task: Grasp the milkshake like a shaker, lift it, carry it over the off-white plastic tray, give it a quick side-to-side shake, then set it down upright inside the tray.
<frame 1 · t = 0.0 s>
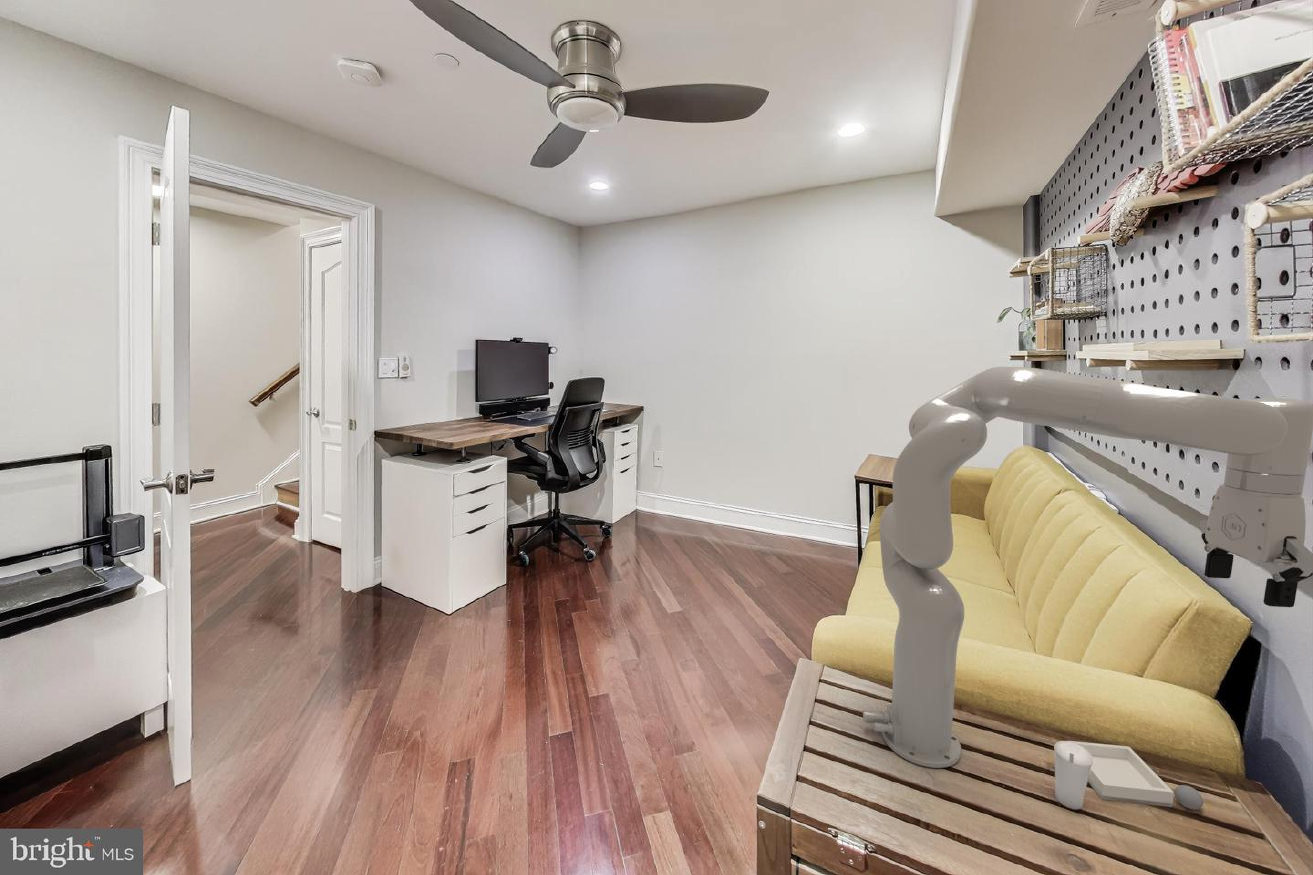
hand: (1245, 590, 77), 31 cm above the table, fingers open, 9 cm apart
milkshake: (1067, 803, 77), on the table
ball: (1187, 805, 76), on the table
tray: (1115, 778, 81), on the table
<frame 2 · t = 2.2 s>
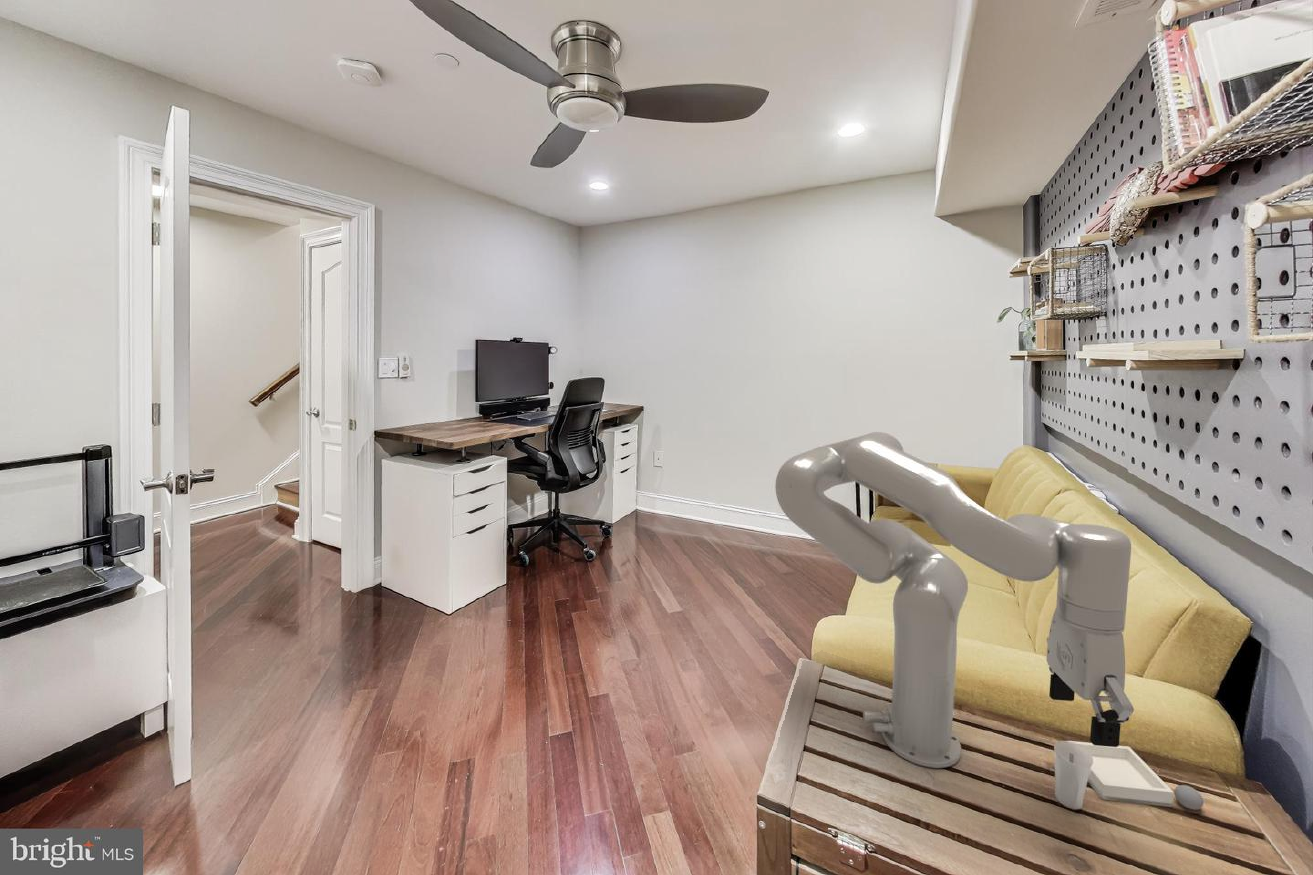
hand: (1081, 720, 75), 14 cm above the table, fingers open, 9 cm apart
nothing on the table moved.
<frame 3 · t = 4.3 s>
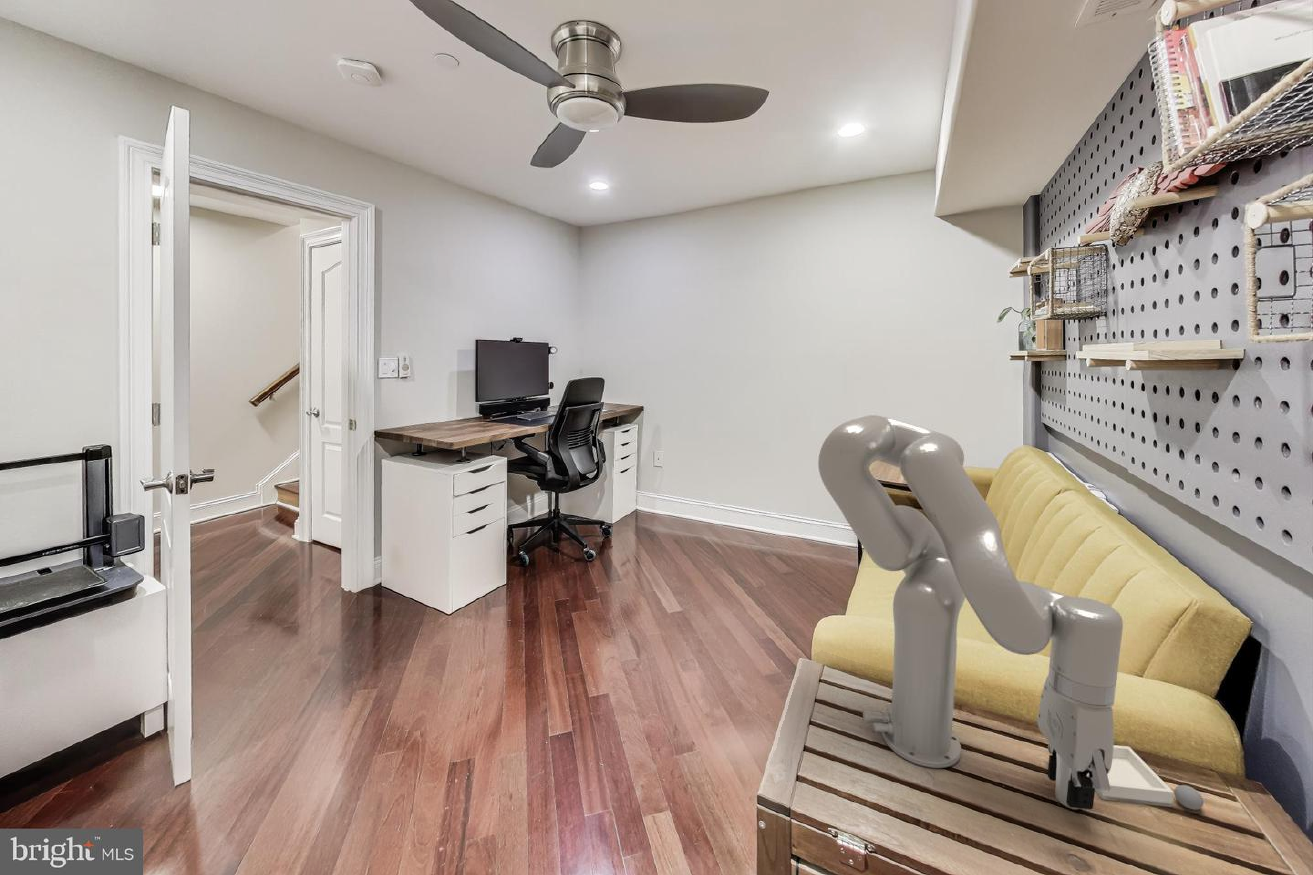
hand: (1069, 791, 77), 2 cm above the table, fingers closed on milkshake, 4 cm apart
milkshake: (1067, 802, 77), on the table, touching gripper
everything else where it was.
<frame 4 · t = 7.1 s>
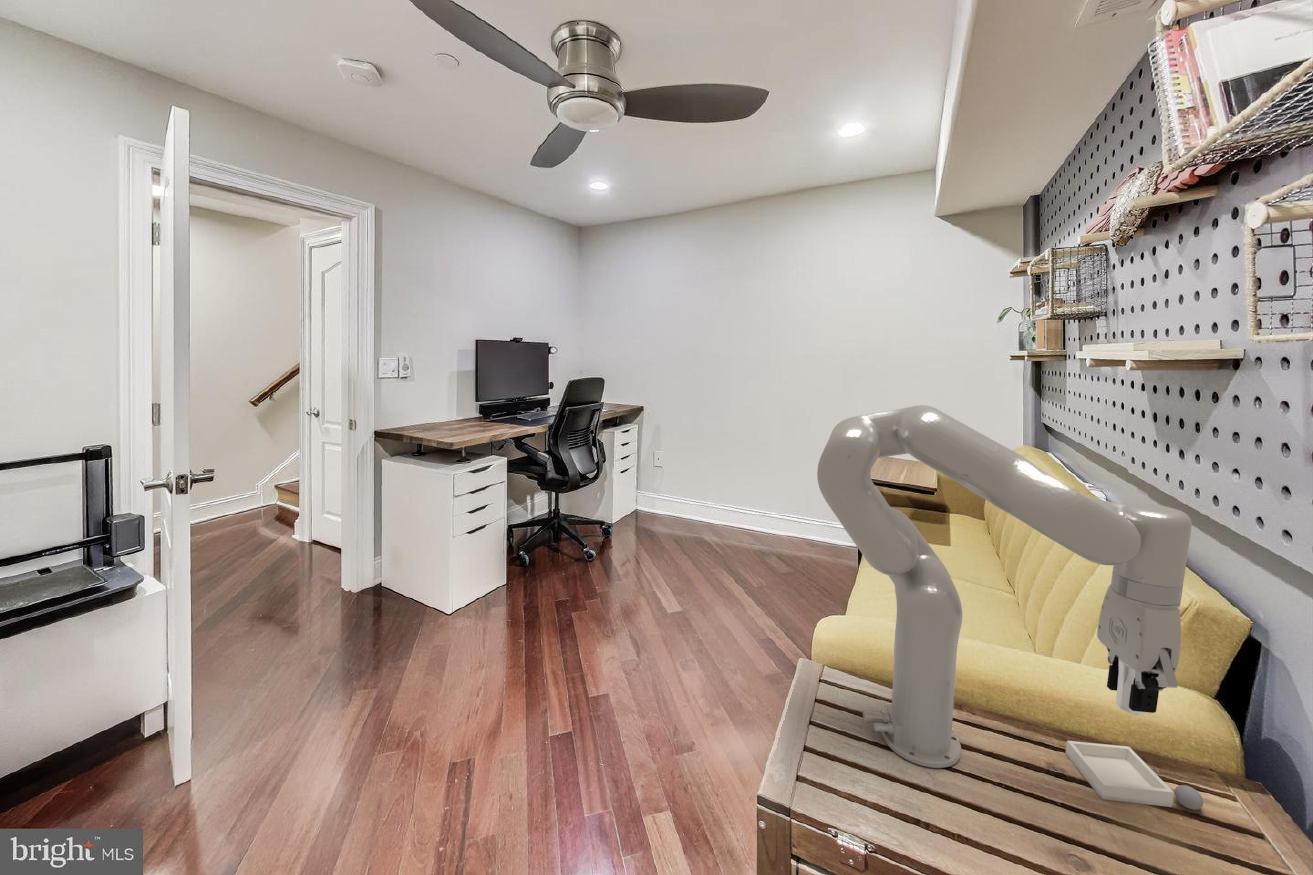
hand: (1130, 698, 77), 15 cm above the table, fingers closed on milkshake, 4 cm apart
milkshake: (1129, 710, 78), point 13 cm above the table, touching gripper
everything else where it was.
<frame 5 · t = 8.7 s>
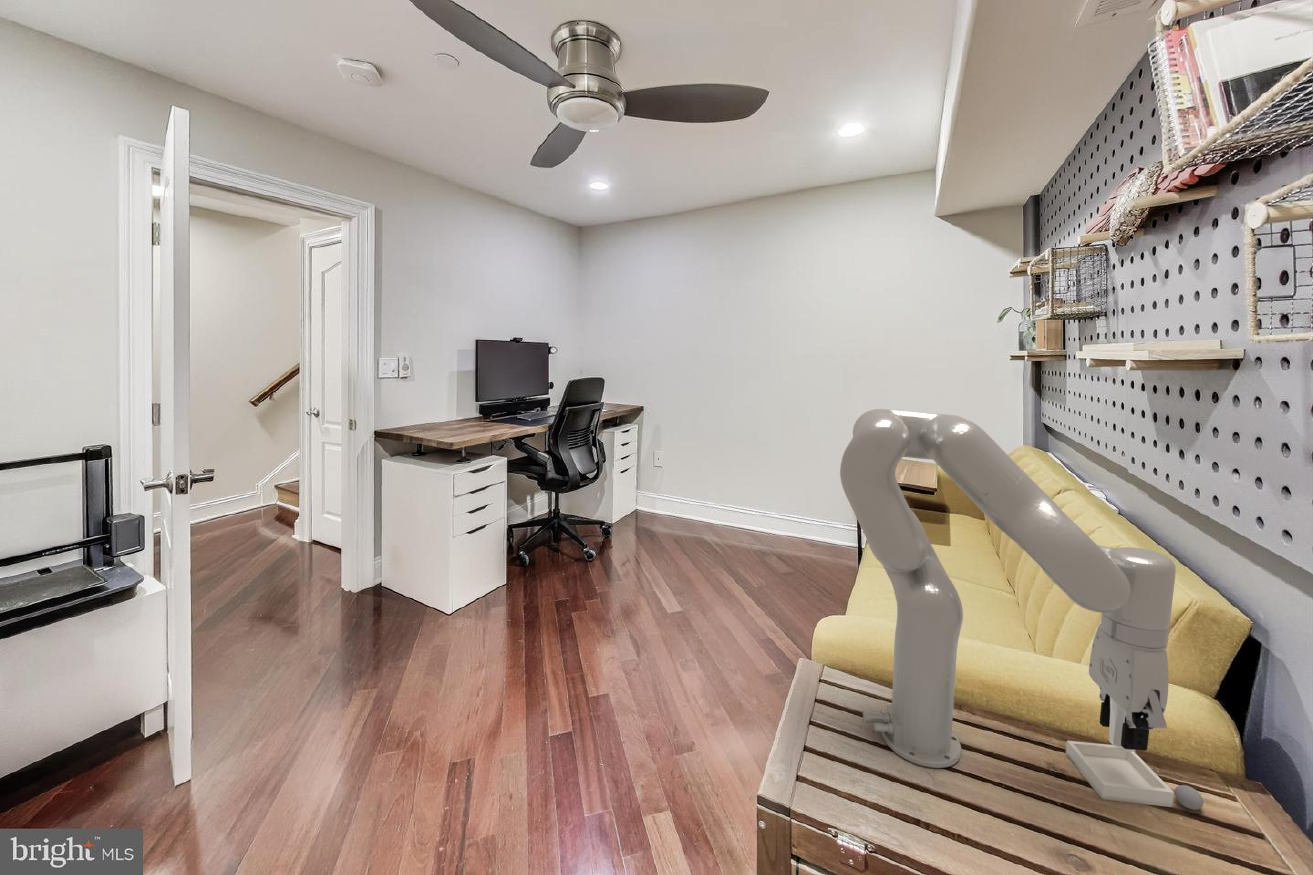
hand: (1122, 735, 80), 8 cm above the table, fingers closed on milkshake, 4 cm apart
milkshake: (1121, 746, 80), point 6 cm above the table, touching gripper
everything else where it was.
when the fingers open (4 cm above the table, at t = 10.1 s): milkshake drops 2 cm, resting on tray.
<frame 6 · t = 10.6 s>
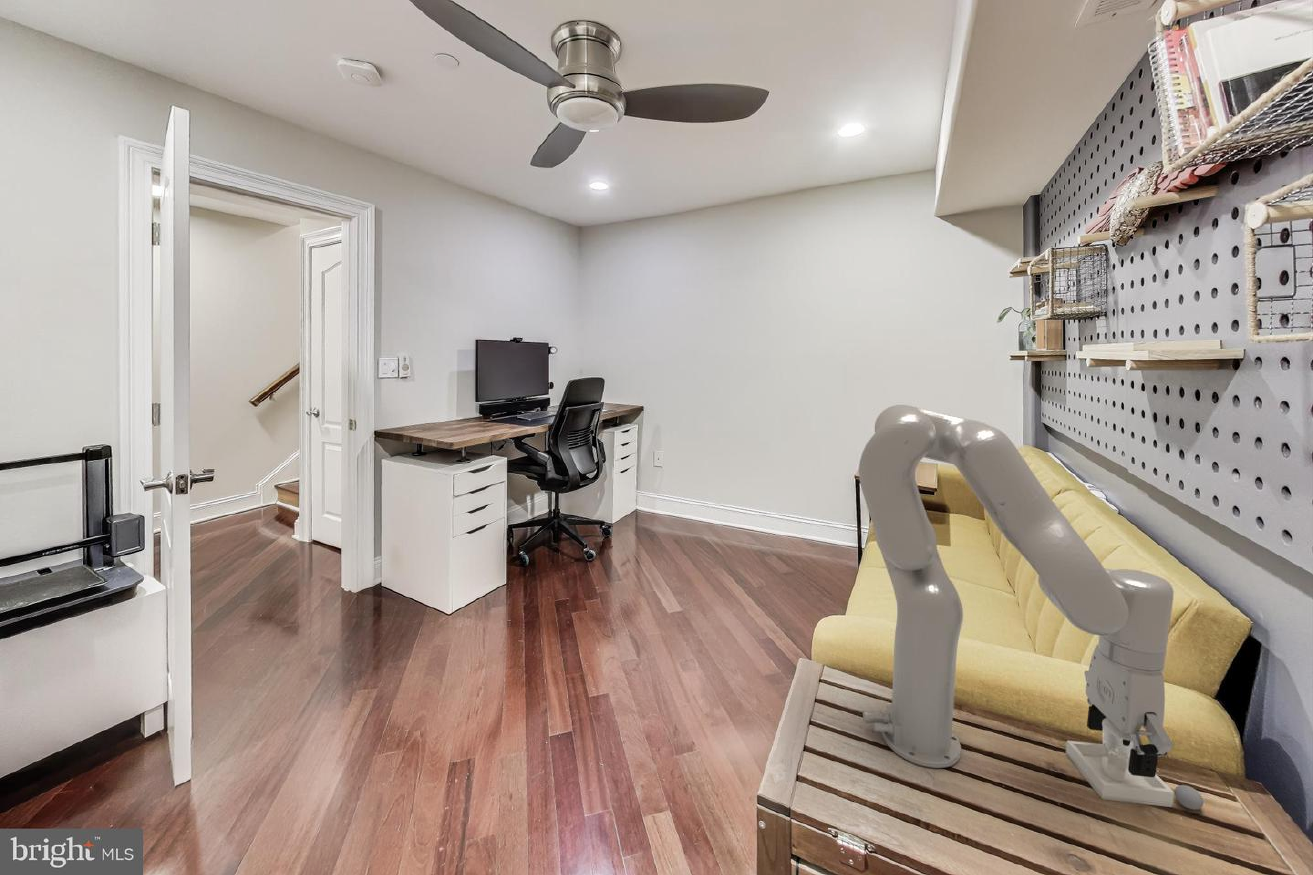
hand: (1118, 750, 80), 5 cm above the table, fingers open, 9 cm apart
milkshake: (1115, 776, 81), resting on tray
everything else where it was.
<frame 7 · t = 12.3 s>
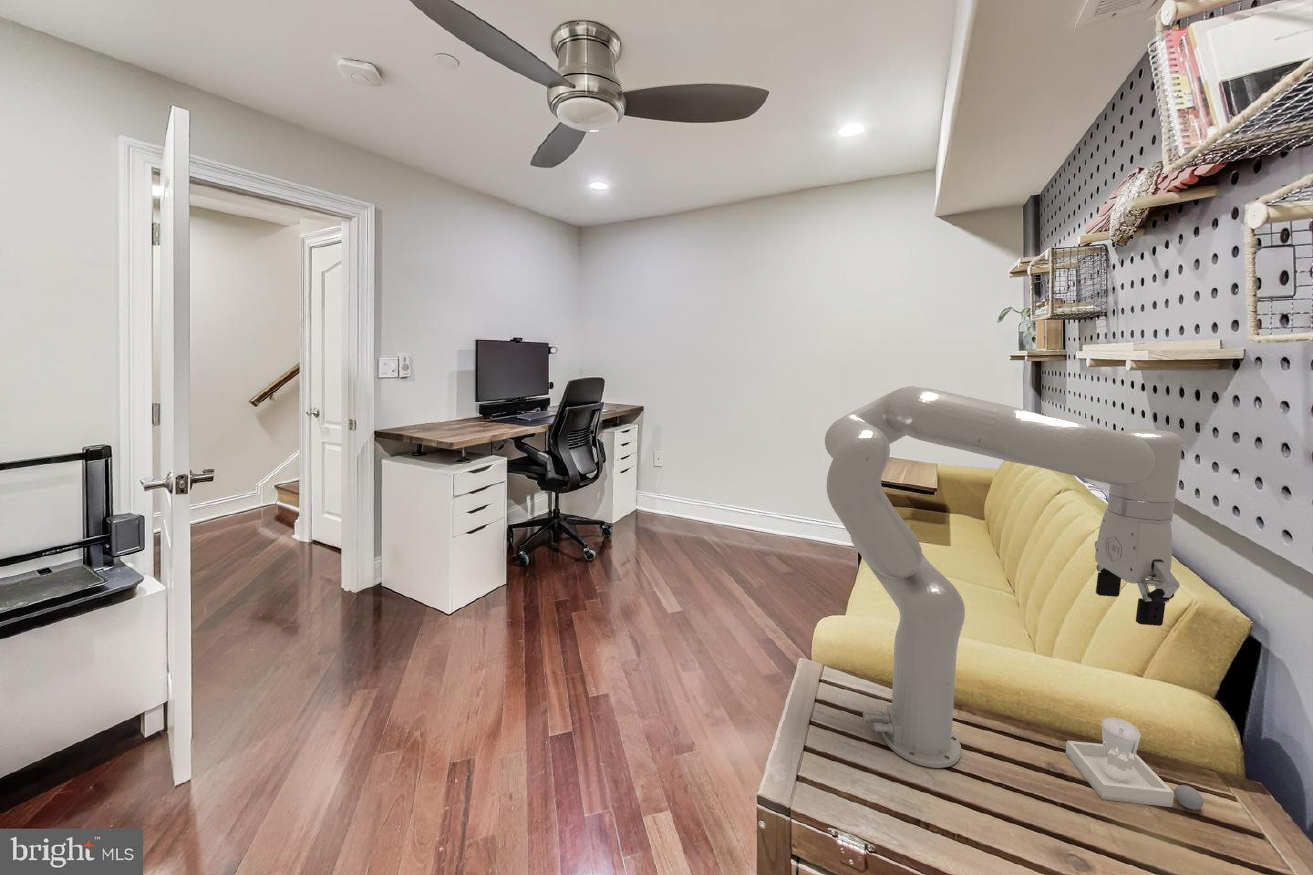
hand: (1126, 608, 82), 26 cm above the table, fingers open, 9 cm apart
nothing on the table moved.
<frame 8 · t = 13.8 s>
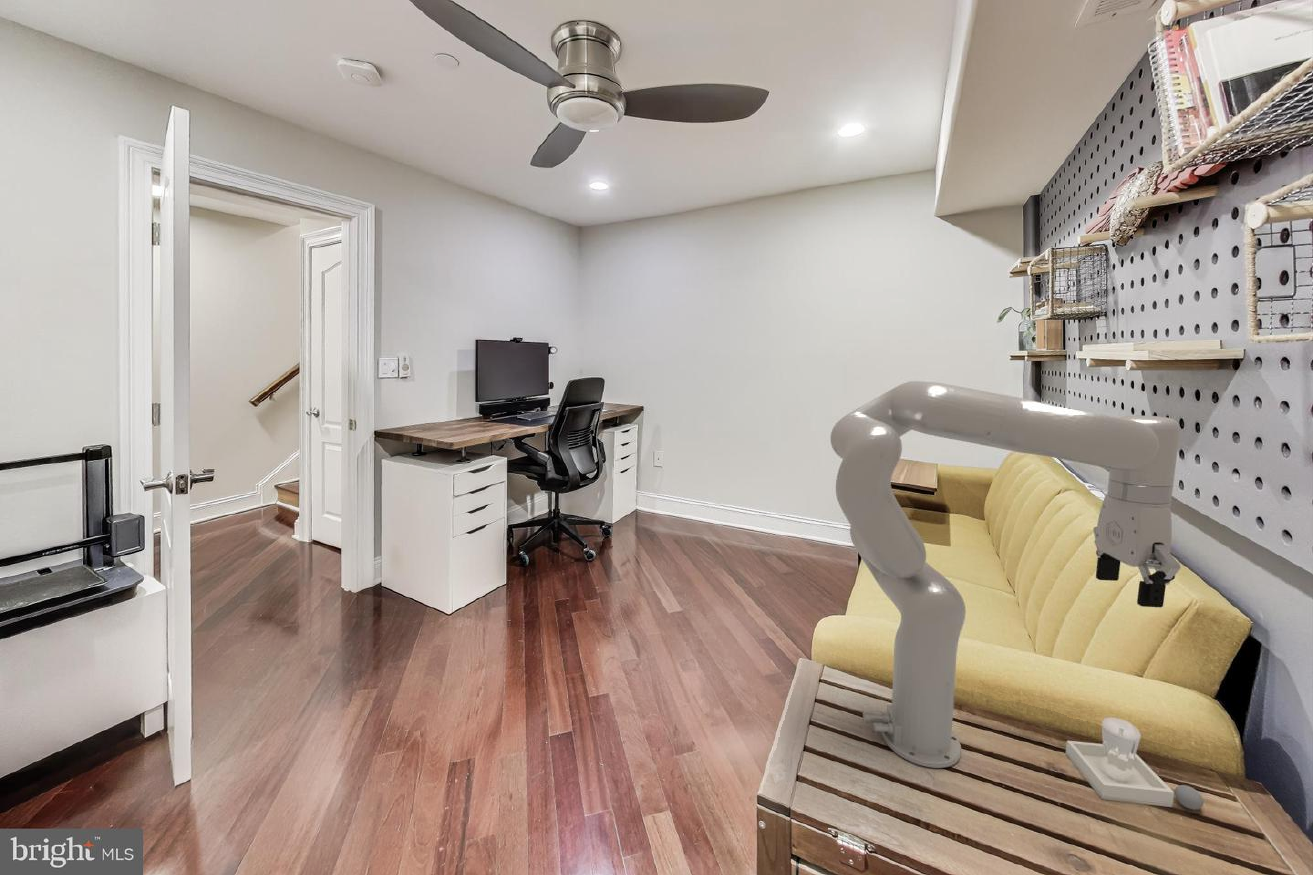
hand: (1127, 592, 84), 28 cm above the table, fingers open, 9 cm apart
nothing on the table moved.
at the end: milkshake 0.1 cm off-centre on the tray, point 0.4 cm above the tray's base; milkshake tilted 0°; the gripper is holding nothing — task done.
